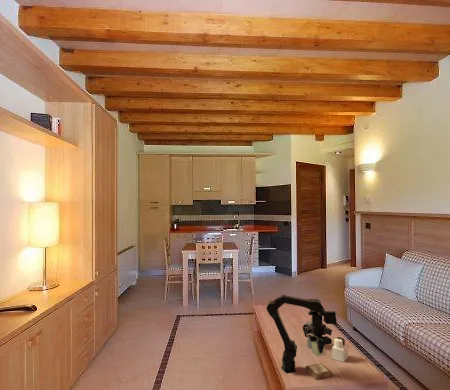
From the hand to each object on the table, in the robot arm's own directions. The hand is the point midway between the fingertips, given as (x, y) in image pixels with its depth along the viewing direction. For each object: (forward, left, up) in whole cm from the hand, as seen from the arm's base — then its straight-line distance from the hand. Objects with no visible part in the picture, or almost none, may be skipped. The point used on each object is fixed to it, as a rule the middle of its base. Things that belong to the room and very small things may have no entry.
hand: (318, 351), depth 176 cm
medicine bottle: (+22, +11, -12) cm, 27 cm away
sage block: (0, 0, -2) cm, 2 cm away
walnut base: (0, 0, -12) cm, 12 cm away
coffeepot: (+15, +31, -12) cm, 36 cm away
